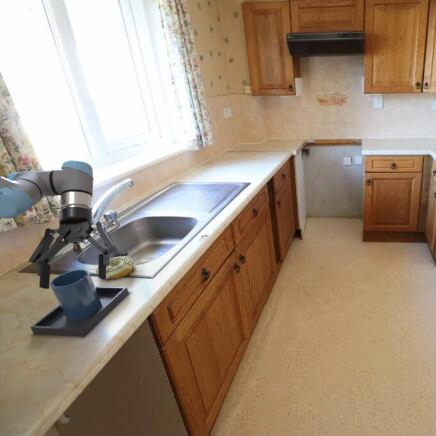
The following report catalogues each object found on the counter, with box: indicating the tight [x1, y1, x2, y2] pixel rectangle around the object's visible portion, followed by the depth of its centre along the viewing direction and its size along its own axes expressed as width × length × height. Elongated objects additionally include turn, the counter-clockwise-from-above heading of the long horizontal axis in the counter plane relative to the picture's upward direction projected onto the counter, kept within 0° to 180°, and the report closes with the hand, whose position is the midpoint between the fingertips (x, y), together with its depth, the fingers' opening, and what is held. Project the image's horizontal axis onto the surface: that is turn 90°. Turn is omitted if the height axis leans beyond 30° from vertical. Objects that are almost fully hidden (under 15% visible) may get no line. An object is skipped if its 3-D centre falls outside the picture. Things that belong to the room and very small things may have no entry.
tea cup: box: [49, 268, 102, 321], centre depth 87 cm, size 8×8×11 cm
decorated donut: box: [95, 255, 135, 281], centre depth 106 cm, size 10×11×4 cm
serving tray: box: [29, 285, 130, 338], centre depth 89 cm, size 17×14×2 cm
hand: (73, 283), depth 86 cm, fingers open, 13 cm apart
